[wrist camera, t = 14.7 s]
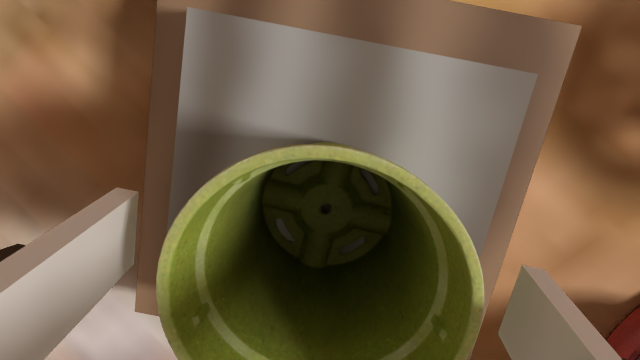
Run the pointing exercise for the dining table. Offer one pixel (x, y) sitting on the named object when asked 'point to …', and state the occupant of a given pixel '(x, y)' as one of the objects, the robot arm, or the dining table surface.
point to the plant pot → (318, 264)
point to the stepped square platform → (353, 103)
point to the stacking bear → (627, 337)
